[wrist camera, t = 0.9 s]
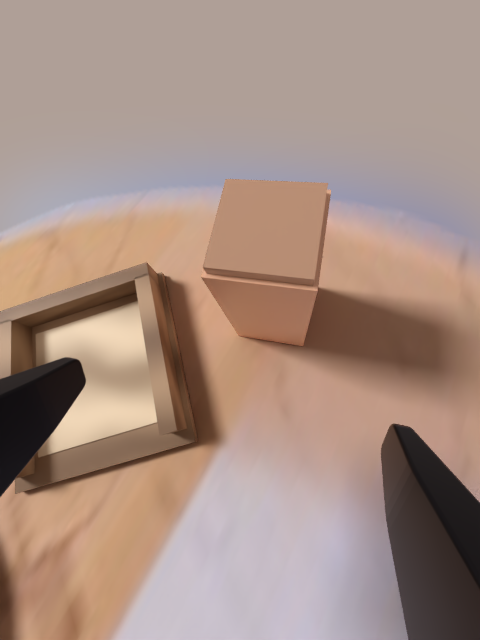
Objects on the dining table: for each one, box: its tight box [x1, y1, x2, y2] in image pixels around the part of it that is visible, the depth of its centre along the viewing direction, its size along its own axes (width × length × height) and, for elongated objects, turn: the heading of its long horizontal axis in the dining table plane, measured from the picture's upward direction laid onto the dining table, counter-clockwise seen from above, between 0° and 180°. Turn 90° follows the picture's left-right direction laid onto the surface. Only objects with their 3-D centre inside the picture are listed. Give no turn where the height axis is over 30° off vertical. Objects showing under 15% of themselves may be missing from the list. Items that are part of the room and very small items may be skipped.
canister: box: [201, 179, 331, 346], centre depth 17 cm, size 5×5×11 cm
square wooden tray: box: [0, 262, 198, 494], centre depth 22 cm, size 14×14×3 cm
